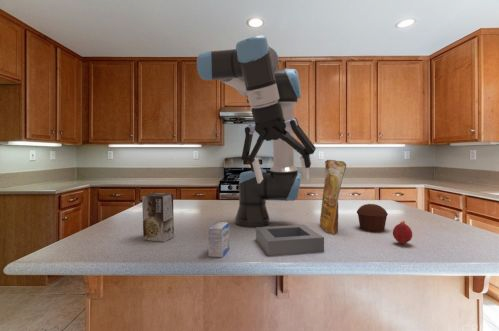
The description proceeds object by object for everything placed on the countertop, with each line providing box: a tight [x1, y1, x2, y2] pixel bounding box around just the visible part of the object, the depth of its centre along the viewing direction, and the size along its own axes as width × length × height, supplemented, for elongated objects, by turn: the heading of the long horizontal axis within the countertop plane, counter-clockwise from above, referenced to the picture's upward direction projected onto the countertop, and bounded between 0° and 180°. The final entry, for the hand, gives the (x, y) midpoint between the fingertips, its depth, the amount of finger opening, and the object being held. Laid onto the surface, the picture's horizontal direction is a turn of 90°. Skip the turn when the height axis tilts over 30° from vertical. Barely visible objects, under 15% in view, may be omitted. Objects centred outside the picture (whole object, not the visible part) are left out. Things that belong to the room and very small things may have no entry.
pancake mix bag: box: [319, 159, 347, 235], centre depth 112 cm, size 7×19×28 cm, turn 179°
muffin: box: [356, 203, 389, 233], centre depth 112 cm, size 12×11×10 cm
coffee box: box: [141, 192, 175, 243], centre depth 100 cm, size 9×6×16 cm
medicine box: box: [207, 221, 230, 258], centre depth 85 cm, size 8×4×9 cm, turn 168°
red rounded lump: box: [392, 220, 413, 245], centre depth 93 cm, size 6×6×8 cm
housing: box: [255, 224, 325, 257], centre depth 92 cm, size 16×18×4 cm
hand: (282, 180), depth 76 cm, fingers open, 13 cm apart
